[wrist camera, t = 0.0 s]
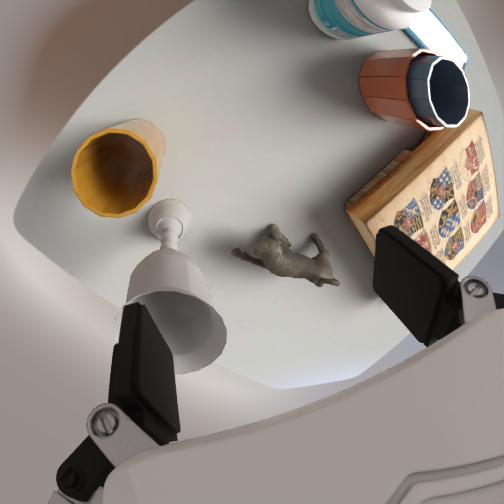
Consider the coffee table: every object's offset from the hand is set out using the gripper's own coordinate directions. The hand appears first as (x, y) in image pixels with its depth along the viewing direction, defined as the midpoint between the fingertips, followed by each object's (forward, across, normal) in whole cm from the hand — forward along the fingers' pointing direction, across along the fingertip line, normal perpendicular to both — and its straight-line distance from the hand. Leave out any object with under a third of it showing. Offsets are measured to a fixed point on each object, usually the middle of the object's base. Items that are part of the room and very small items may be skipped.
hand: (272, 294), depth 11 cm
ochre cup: (+22, +7, -4) cm, 24 cm away
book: (+22, -31, +14) cm, 41 cm away
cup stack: (+22, -24, -6) cm, 34 cm away
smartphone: (+22, -35, -14) cm, 44 cm away
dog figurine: (+22, -6, +12) cm, 26 cm away
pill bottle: (+22, -18, -16) cm, 33 cm away
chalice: (+22, +6, +5) cm, 24 cm away
